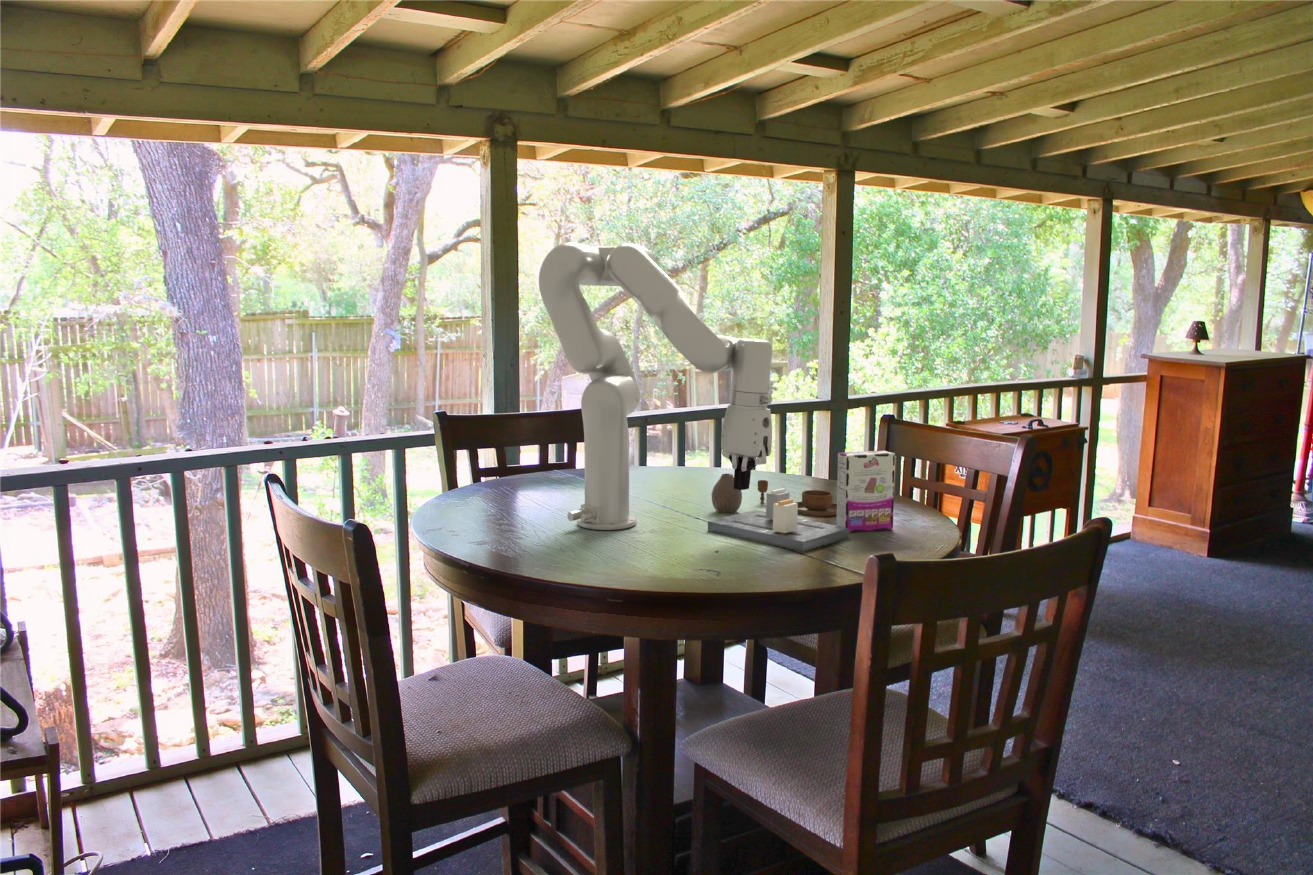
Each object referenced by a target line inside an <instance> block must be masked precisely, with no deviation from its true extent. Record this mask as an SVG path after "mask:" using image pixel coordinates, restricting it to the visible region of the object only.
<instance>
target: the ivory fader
mask: <svg viewBox="0 0 1313 875" xmlns="http://www.w3.org/2000/svg"><path fill="white" fill-rule="evenodd" d="M798 509H799V508H798V503H795V502H794V499H793V498H789V499H787V500H783V501H779V502H778V503H775V504H773V531H777V532H781V533H788V532H791V531H795V530H797V518H798V515H799V514H798Z"/></svg>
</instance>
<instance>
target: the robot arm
mask: <svg viewBox="0 0 1313 875" xmlns="http://www.w3.org/2000/svg"><path fill="white" fill-rule="evenodd" d="M580 286H589V287H590V286H592V287H594V286H595V287H596V286H600V287H601V286H602V287H620V288H621V289H622V290H623V291H624V292H625V293H626V294H627V295H628V296H630V298H631V299H632V300H633V301H634V302H635V303H636V304H637V305H638V306H639V307H640V308H641V309H642V310H643V311H644V312H645V313H646V314H647V315H648V316H649V317H650V319H652V321H653V322H654V324H655V325H656V326H657V328H658V329H659V330H660V331H661V333H662V334H663V335H664V337H666V338H667V340H668V341H669V342H670V343H671V345H672V346H674V348H675V349H676V350H677V351H678V352H679V353H680V354H681V355H682V356H683V357H684V358H685V359H686V360H687V361H688V362H689V363H690V364H691V365H692V366H694V368H695V369H697V370H698V371H700V372H702V373H704V374H715V373H719V372H727V371H732V375H731V376H732V378H731V387H730V388H731V390H730V401H729V404H728V405H727V406H726V409H725V414H724V418H723V424H722V430H721V437H720V441H721V443H720V445H721V449H722V453H721V455H722V456H723V457H724V458H726V459H727V460H729V462H730V463H731V467H732V470H734V474H733V477H734V486H733V488H734V489H738V490H741V491H745V490H749V488H750V483H751V476H752V475H751V473H752V471H754V469H755V468H756V467H757V466H758V465H765V464H767V457H770V456H771V453H772V447H773V446H772V445H773V421H772V420H773V419H772V413H771V408H768V405H771V404H772V400H773V399H772V398H771V397H769V390H770V378H771V366H772V356H773V345H772V343H771V342H770V341H769V340H766V339H761V338H760V339H759V338H749V337H748V338H744V337H743V338H737V337H731V336H728V335H723V334H715V333H714V332H713V331H712V330H711V329H710V327H708V326H707V324H705V323H704V322H703V321H702V320H701V318H700V317H699V316H698V315H697V314H696V313H695V311H694V310H693V309H692V308H691V306H690V304H689V302H688V300H687V297H686V294H685V292H684V290H683V289H682V288H681V287H680V286H679V285H678V284H677V283H676V282H675V281H674V280H673V278H671V277H670V276H669V275H668V273H666V272H665V271H664V270H663V269H662V268H661V267H660V266H659V265H658V263H657V260H656V257H655V255H654V254H653V253H652V251H651V250H649V249H648V248H646V247H644V246H642V245H639V244H636V243H631V242H625V243H621V244H618V245H617V246H596V245H595V246H594V245H586V244H583V243H579V242H571V241H568V242H567V241H566V242H563V243H560V244H557V245H556V246H554V247H553V248H552V249H551V250H550V251H549V253H547V255H546V256H545V257H544V259H543V262H542V263H541V266H540V269H539V273H538V287H539V293H540V297H541V299H542V302H543V305H544V307H545V309H546V312H547V314H548V316H549V318H550V320H551V323H552V325H553V328H554V331H555V334H556V335H557V338H558V341H559V343H560V345H561V347H562V350H563V352H564V354H565V357H566V361H567V362H568V364H569V366H570V367H571V368H572V369H573V370H574V371H575V372H577V373H579V374H583V375H584V374H586V375H588V376H589V379H590V382H589V383H588V384H587V385H586V387H585V388H584V391H583V392H582V396H581V399H580V406H581V407H580V409H581V410H580V411H581V416H582V417H581V418H582V424H583V435H584V436H583V437H584V438H583V440H584V446H583V447H584V448H583V449H584V450H583V451H584V503H583V504H582V503H581V504H580V508H579V509H578V510H572V511H569V512H567V517H566V518H567V520H568V521H569V522H573V521H577V525H578V526H579V527H580V528H581V527H582V528H585V529H590V530H597V531H598V530H599V531H616V530H624V529H628V528H632V527H634V526H635V525H637V518H636V517H635V516H633V515H631V514H630V432H629V425H628V416H629V415H631V414H632V413H633V412H635V411H636V409H637V408H638V406H639V404H640V400H641V391H640V386H639V385H638V381H637V379H636V376H635V374H634V372H633V370H632V367H631V365H630V362H629V360H628V358H627V356H626V354H625V351H624V348H623V347H622V345H621V343H620V341H619V340H618V339H617V337H616V336H615V335H614V334H613V333H612V332H611V331H609V330H607V329H603V328H599V326H598V324H597V322H596V320H595V317H594V315H593V314H592V310H591V308H590V307H591V306H590V305H589V304H588V302H587V300H586V298H585V296H583V293H582V292H581V288H580Z"/></svg>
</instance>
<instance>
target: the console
mask: <svg viewBox="0 0 1313 875" xmlns="http://www.w3.org/2000/svg"><path fill="white" fill-rule="evenodd" d="M707 531H708V532H712V533H717V534H721V535H726V536H728V537H729V536H730V537H735V538H739V539H744V540H749V541H751V542H755V543H756V542H758V543H761V544H765V545H771V546H774V545H775V547H779V548H783V547H785V548H784V549H789V550H792V549H794V550H793V551H797V552H801V551H802V553H804V551H805V552H807V551H810V549H811V550H814V549H817V548H816V547H818V548H820V546H821V547H823V546H822V545H824V546H827V545H829V544H833V543H837V542H840V541H843V540H846V539H849V537H850V532H849V528H846V527H841V526H837V524H835V525H834V524H829V523H824V522H819V521H815V520H809V519H803V518H799V517H797V530H795V531H791V532H788V533H781V532H777V531H773V520H772V519H767V518H766V511H763V510H759V509H758V510H757V509H754V510H753V509H752V510H749V511H746V512H741V513H737V514H732V515H729V516H725V517H721V518H720V517H719V518H717V519H712V520H708V521H707ZM813 548H814V549H813Z"/></svg>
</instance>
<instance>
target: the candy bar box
mask: <svg viewBox="0 0 1313 875" xmlns="http://www.w3.org/2000/svg"><path fill="white" fill-rule="evenodd" d="M895 462H896V453H895V452H891V451H889V450H888V451H887V450H873V451H872V450H867V451H866V450H865V451H850V452H849V451H848V452H838V453H837V477H836V478H837V480H836V481H837V482H836V484H837V487H836V504H837V515H836V526H841V527H846V528H849V533H862V532H863V533H864V532H875V531H877V532H878V531H891V530H894V504H895V503H894V502H895V500H894V498H895V467H896V466H895V465H896V464H895Z"/></svg>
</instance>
